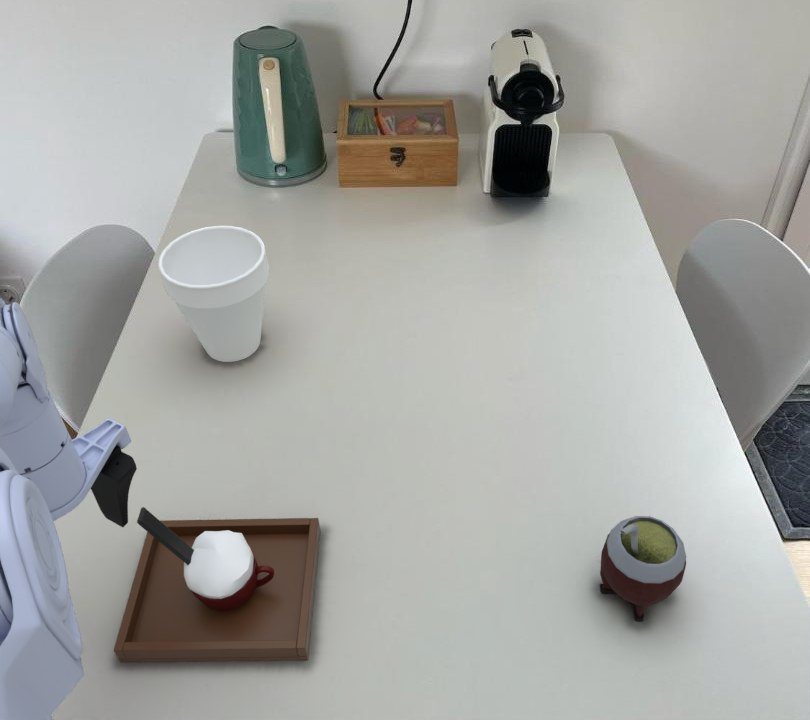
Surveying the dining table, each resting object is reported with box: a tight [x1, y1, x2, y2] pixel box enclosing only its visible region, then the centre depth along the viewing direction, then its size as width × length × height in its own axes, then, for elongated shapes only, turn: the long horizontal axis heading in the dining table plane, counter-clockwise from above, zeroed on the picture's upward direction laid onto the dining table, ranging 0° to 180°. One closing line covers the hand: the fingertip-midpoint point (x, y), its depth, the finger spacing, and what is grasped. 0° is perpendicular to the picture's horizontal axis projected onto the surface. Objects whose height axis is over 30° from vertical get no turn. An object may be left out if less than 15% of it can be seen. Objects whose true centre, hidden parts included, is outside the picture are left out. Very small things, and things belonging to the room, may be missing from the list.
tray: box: [113, 517, 322, 663], centre depth 75 cm, size 17×14×2 cm
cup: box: [157, 225, 270, 363], centre depth 97 cm, size 12×12×14 cm
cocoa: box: [136, 506, 274, 611], centre depth 71 cm, size 10×6×12 cm, turn 67°
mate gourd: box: [599, 515, 687, 623], centre depth 69 cm, size 8×8×15 cm
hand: (83, 553), depth 67 cm, fingers open, 7 cm apart
